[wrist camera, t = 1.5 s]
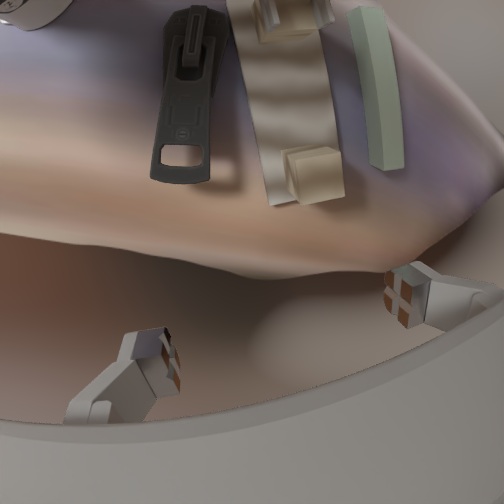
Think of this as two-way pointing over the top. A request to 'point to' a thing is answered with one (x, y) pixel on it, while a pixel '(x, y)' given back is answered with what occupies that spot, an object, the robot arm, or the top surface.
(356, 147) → the top surface
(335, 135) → the rail posts
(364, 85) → the rail
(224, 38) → the zipper pull
